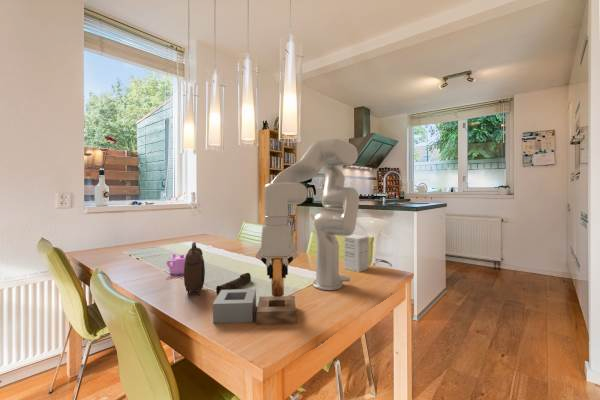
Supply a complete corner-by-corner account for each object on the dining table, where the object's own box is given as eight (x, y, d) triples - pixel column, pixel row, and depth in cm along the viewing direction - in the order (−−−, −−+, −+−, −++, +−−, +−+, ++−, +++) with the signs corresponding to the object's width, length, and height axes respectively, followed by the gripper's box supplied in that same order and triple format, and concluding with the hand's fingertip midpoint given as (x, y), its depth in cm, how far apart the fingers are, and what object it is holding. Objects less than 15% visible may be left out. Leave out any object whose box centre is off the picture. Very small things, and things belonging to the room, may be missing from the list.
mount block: (294, 307, 98) (294, 295, 98) (296, 323, 86) (296, 310, 86) (259, 308, 97) (259, 296, 97) (256, 324, 85) (256, 311, 85)
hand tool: (222, 297, 108) (222, 285, 108) (215, 294, 110) (215, 283, 110) (255, 283, 124) (255, 272, 124) (248, 281, 126) (248, 271, 126)
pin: (283, 291, 94) (283, 256, 93) (284, 296, 90) (283, 259, 89) (272, 292, 93) (271, 256, 93) (271, 296, 89) (270, 259, 89)
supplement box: (354, 265, 151) (354, 234, 151) (369, 268, 145) (369, 236, 144) (343, 268, 145) (343, 236, 144) (358, 272, 138) (358, 238, 137)
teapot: (172, 269, 145) (172, 252, 144) (200, 268, 146) (199, 251, 146) (163, 276, 133) (163, 257, 133) (193, 275, 134) (193, 257, 134)
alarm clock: (204, 297, 106) (203, 245, 106) (183, 299, 104) (182, 246, 103) (205, 285, 120) (205, 238, 120) (187, 286, 118) (186, 239, 117)
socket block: (256, 305, 99) (255, 289, 99) (252, 321, 87) (252, 302, 87) (221, 306, 98) (221, 289, 98) (213, 323, 86) (212, 303, 86)
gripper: (301, 219, 94) (302, 272, 96) (251, 220, 93) (252, 274, 94) (303, 222, 87) (304, 280, 88) (249, 223, 86) (250, 282, 87)
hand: (277, 276), depth 91 cm, fingers closed on pin, 4 cm apart
